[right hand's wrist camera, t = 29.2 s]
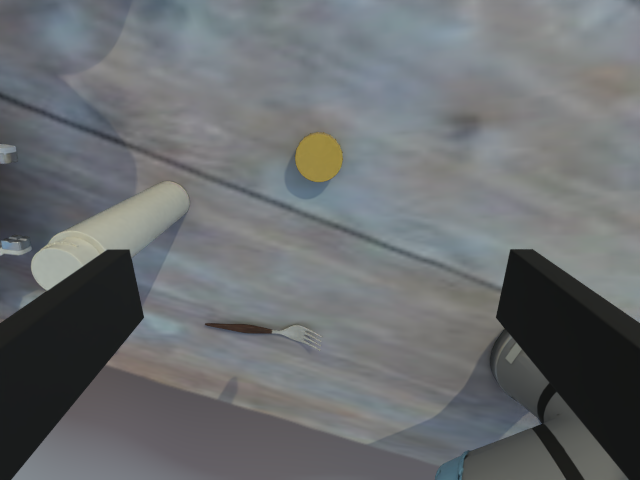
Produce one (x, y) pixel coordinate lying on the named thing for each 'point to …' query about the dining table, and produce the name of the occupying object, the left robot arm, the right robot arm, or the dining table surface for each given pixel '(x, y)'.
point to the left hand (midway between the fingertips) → (19, 202)
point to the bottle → (111, 232)
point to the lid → (318, 157)
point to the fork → (272, 331)
